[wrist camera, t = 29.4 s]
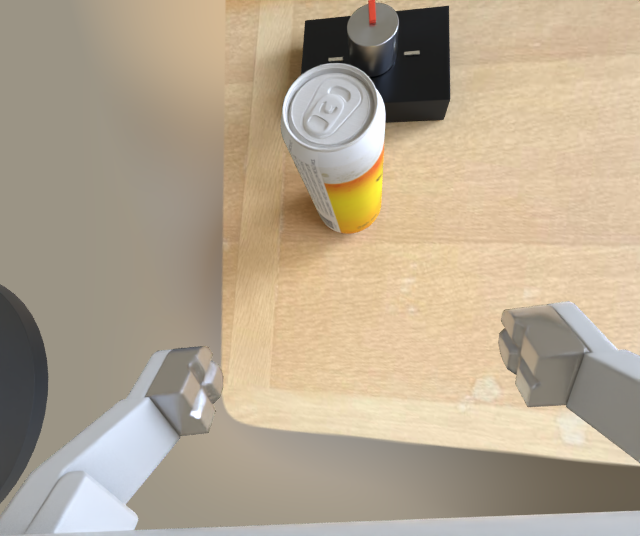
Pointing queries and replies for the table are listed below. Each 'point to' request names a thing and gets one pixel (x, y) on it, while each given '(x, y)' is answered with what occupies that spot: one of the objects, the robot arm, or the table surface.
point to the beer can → (337, 143)
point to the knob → (373, 38)
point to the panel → (396, 62)
